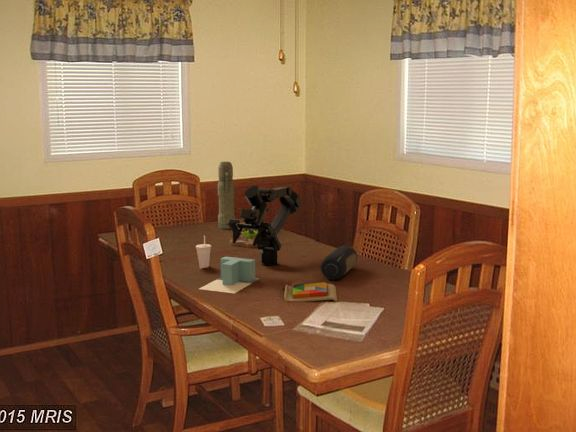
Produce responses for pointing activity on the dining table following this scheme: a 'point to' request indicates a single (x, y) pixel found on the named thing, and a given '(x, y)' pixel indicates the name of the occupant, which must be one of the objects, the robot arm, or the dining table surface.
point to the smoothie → (203, 254)
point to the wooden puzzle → (310, 292)
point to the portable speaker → (339, 262)
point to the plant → (245, 239)
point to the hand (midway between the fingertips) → (243, 244)
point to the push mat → (226, 286)
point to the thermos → (225, 194)
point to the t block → (237, 270)
